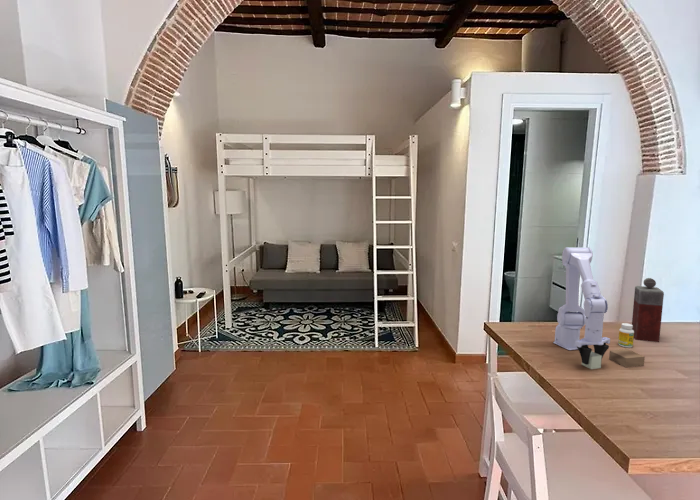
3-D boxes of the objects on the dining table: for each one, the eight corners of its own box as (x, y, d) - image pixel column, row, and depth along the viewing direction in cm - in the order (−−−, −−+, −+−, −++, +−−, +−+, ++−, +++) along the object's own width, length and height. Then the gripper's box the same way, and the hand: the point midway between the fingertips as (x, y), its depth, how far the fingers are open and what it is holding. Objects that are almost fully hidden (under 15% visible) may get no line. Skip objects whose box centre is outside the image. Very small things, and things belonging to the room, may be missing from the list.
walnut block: (609, 359, 160) (609, 350, 159) (626, 358, 161) (627, 348, 161) (625, 368, 152) (626, 358, 152) (643, 366, 153) (644, 356, 153)
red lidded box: (652, 334, 188) (657, 276, 184) (659, 342, 178) (665, 281, 174) (629, 332, 191) (634, 274, 188) (635, 339, 181) (640, 279, 178)
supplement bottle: (621, 342, 178) (623, 321, 177) (635, 346, 173) (637, 325, 172) (615, 345, 175) (617, 324, 174) (629, 348, 170) (631, 327, 169)
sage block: (581, 364, 155) (582, 352, 155) (590, 363, 156) (591, 351, 156) (591, 369, 151) (592, 356, 150) (600, 368, 152) (601, 355, 151)
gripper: (587, 333, 146) (584, 369, 148) (618, 330, 150) (615, 364, 151) (571, 327, 153) (569, 361, 154) (602, 324, 156) (599, 357, 158)
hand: (591, 362), depth 153 cm, fingers open, 5 cm apart
